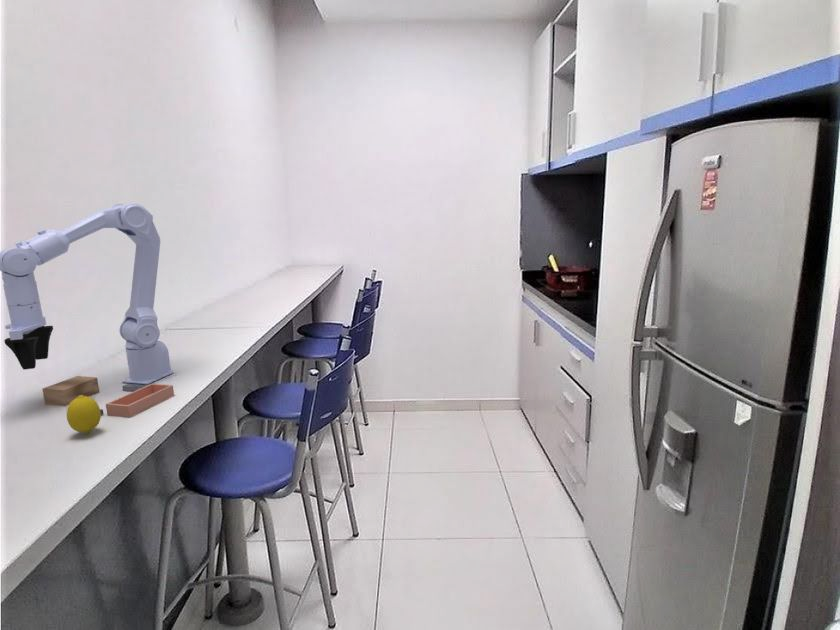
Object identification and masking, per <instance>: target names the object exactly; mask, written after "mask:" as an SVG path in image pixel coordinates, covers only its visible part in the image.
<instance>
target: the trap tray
mask: <svg viewBox="0 0 840 630" xmlns="http://www.w3.org/2000/svg"><path fill="white" fill-rule="evenodd" d="M174 391H175V389H174V385H173V384H162V383H161V384H160V383H149V384H146V385H145V387H143V388H141V389H138V390H136V391H134V392H129V393H128V394H125V395H123V396H121V397H118V398H117V399H114V400H112V401H109V402H107V403H105V409H106V415H107V416H113V417H123V418H132V417H134V416H136V415H137V414H140V413H142V412H144V411H146V410H148V409H150V408H152V407H154V406H156V405H158V404H160V403H162V402H164V401H166V400H169V399H171V398H172V397H174V396H175V392H174Z"/></svg>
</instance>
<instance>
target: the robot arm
mask: <svg viewBox="0 0 840 630" xmlns="http://www.w3.org/2000/svg"><path fill="white" fill-rule="evenodd" d="M153 220H154V215H153V214H151V212H150V211H149V210H147V209H146V208H145V206H143V205H141V204H139V203H134V202H132V203H128V204H127V203H125V204H123V203H117V204H114V205H112V206H111V207H106V208H103V209H100V210H98V211H95V212H94V213H92V214H90V215H88V216H86V217H85V218H83V219H81V220H79V221H77V222H75V223H73V224H71V225H69V226H67V227H65V228H63V229H62V230H60V231H59V230H56V229H52V228H51V229H50V228H49V229H47V230H46V229H43V228H42V229H40V230H38V231H37V232H36V233H37V235H34V236H33V237H31V238H29V239H27V240H24V241H20V240H19V241H17V242H15V243H14V244H15V246H16V247H8V248H7V247H6V248H5V249H2V250H0V272H1V278H2V281H3V285H2V286H3V290H4V296H5V300H6V301H5V302H6V305H7V311H8V314H9V319H10V323H8V324H6V325H4V326H5V327H4V328H5V330H9V331H8V335H9V337H7V338H5V339H4V340H3V341H4V344H5V345H6V346H7V347H8V349H10V350H11V352H12V353H13V354H14V356H15V358H16V359H17V361H18V363H19V365H20V367H21V368H22V370H31V369H32V370H33V369H35V368H36V365H37V364H36V363H37V361H38V360H47V359H48V357H49V350H50V348H49V347H50V338H51V335H52V333H53V330H54V326H53V325H47V320H46V317H45V316H44V315H43V310H42V305H41V301H40V295H39V290H38V285H37V281H36V277H35V273H34V271H35V270H36V268H37V267H38V266H42V265H44V264H45V263H48V262H50V261H52V260H53V259H55V258H58V257H60V256H61V255H63V254H66V253H67V252H68V251H69V248H70V245H71V244H73V243H74V242H77V241H78V240H81V239H83V238H84V237H87V236H89V235H91V234H92V235H93V233H94V234H95V233H96V232H99V231H100V230H102V229H115V230H118V231H119V232H122V233H123V234H125V235H126V236H128V238H129V239H130V240H131V241H132V242H133V243H134V244H135V254H134V264H133V272H132V283H131V292H130V302H129V307H128V308H127V310H126V312H125V313H124V319H123V321H122V322H121V323H120V326H119V335H120V337H122V339H123V340H125V345H124V346H125V352H126V360H127V366H128V373H129V377H127V378H125V379H122V381H121V383H126V384H135V385H150V384H153V383H154V382H156V381H158V380H161V379H163V378H166V377H168V376H169V375H172V374H174V370H172V369H171V362H170V353H169V352H170V351H169V348H168V346H167V344H165V343H164V342H163V341H160V340H159V338H160V336H161V335H160V334H161V333H160V329H159V326H158V316H157V314H156V312H155V310H154V307H155V297H156V296H155V295H156V289H157V288H156V285H157V280H158V279H157V278H158V276H157V275H158V268H159V260H160V259H159V258H160V248H161V237H160V235H159V233H158V230H157V228H156V226H155V223H154V221H153Z"/></svg>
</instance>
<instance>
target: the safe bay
mask: <svg viewBox="0 0 840 630" xmlns="http://www.w3.org/2000/svg"><path fill="white" fill-rule="evenodd" d="M145 386H146V384H135V383H126V384H124V385H122V386H121V387H122V391H123V392H130V393H132V392H134V391H136V390H138V389H141V388H143V387H145ZM100 412H101V416H104V409H103V408H100Z"/></svg>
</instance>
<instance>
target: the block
mask: <svg viewBox="0 0 840 630" xmlns="http://www.w3.org/2000/svg"><path fill="white" fill-rule="evenodd" d="M99 393H100V386H99V380H98V377H94V376H93V377H92V376H85V375H84V376H82V375H77V376H74V377H71V378H68V379H66V380H61V381H59V382H57V383H55V384H54V383H53V384H52V385H49V386H46V387H43V388H42V394H43V400H44V405H52V406H56V407H57V406H58V407H59V406H60V407H67V406H69V404H70V403H71V402H72V401H73V400H74V399H76V398H78V396H80V395H83V396H87V397H92V396H93V395H96V394H99Z"/></svg>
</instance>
